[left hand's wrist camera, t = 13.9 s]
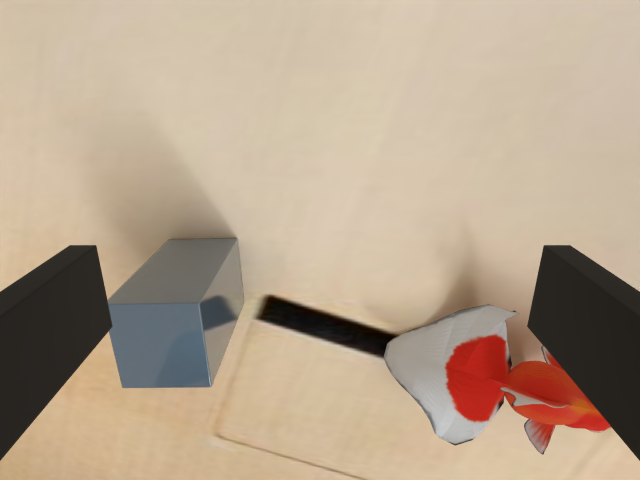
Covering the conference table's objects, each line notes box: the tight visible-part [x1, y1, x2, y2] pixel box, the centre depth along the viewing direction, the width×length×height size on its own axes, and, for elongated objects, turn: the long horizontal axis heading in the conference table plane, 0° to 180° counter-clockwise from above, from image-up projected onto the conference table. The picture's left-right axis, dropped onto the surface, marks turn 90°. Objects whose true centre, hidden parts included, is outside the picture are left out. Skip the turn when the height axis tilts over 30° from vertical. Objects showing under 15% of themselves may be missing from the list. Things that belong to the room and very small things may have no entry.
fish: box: [384, 304, 611, 454], centre depth 30 cm, size 11×16×10 cm
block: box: [107, 238, 244, 388], centre depth 28 cm, size 5×5×10 cm
